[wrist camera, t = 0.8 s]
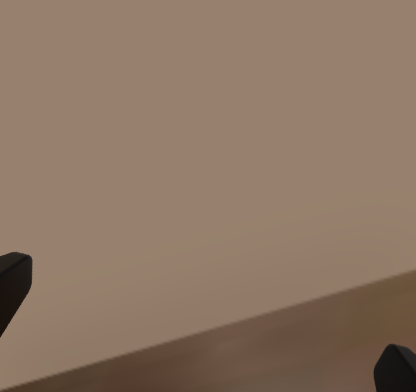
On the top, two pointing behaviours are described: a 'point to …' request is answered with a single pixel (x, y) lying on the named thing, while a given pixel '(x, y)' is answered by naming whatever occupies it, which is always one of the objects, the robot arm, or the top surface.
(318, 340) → the top surface
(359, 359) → the top surface
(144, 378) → the top surface
